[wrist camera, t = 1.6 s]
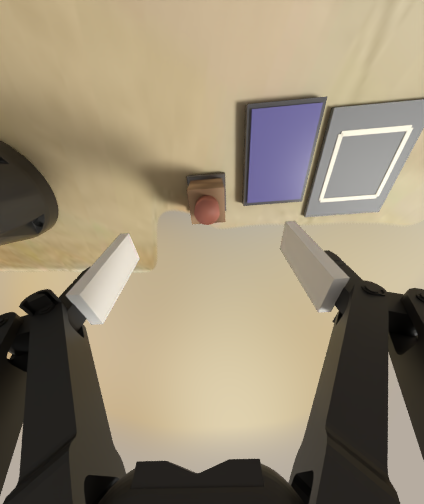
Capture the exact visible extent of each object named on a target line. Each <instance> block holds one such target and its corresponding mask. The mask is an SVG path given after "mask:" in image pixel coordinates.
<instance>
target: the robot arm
mask: <svg viewBox="0 0 424 504" xmlns="http://www.w3.org/2000/svg"><path fill="white" fill-rule="evenodd" d="M57 218H58V205H57V201H56V198H55V195H54V193H53V191H52V189H51V187H50V186H49V184H48V183H47V181H46V180H45V178H44V177H43V176H42V175H41V173H40V172H39V171H38V170H37V169H36V168H35V167H34V166H33V165H32V164H31V163H30V162H29V161H28V160H27V159H26V158H25V157H24V156H22V155H21V154H20V153H19V152H17V151H16V150H14V149H13V148H12V147H10V146H9V145H7V144H5V143H4V142H2V141H0V245H3V244H8V243H13V242H17V241H22V240H26V239H31V238H34V237H36V236H39V235H41V234H42V233H44V232H46V231H47V230H49V229H50V228H52V227H53V226H54V224H55V223H56V221H57ZM280 250H281V252H282V253H283V255H284V257H285V258H286V260H287V262H288V263H289V265H290V267H291V268H292V270H293V272H294V273H295V275H296V277H297V278H298V280H299V282H300V283H301V285H302V287H303V288H304V290H305V291H306V293H307V295H308V296H309V298H310V300H311V301H312V303H313V305H314V306H315V308H316V310H317V311H318V312H331V310H332V309H333V307H334V306H336V307H337V309H338V310H339V312H338V313H337V315H336V317H335V318H334V320H333V322H334V327H333V331H332V334H331V338H330V342H329V346H328V350H327V353H326V357H325V360H324V364H323V368H322V372H321V376H320V379H319V383H318V387H317V391H316V394H315V398H314V401H313V405H312V409H311V413H310V416H309V420H308V424H307V428H306V432H305V435H304V439H303V442H302V444H301V446H300V449H299V451H298V453H297V456H296V459H295V462H294V465H293V469H292V472H291V476H290V480H289V483H288V482H287V481H286V480H285V479H284V478H283V477H282V476H280V475H279V474H278V473H277V472H275V471H274V470H272V469H271V468H269V467H267V466H265V465H263V464H261V463H260V459H232V460H227V461H225V462H223V463H220V464H218V465H216V466H214V467H212V468H210V469H207V470H205V471H203V472H201V473H195V472H192V471H190V470H188V469H185V468H183V467H181V466H178V465H176V464H173V463H170V462H168V461H145V462H137V463H136V467H135V469H133V470H132V471H130V472H129V473H127V474H126V472H125V469H124V465H123V462H122V460H121V457H120V456H119V454H118V452H117V451H116V449H115V447H114V444H113V441H112V437H111V432H110V428H109V424H108V420H107V416H106V411H105V407H104V403H103V399H102V395H101V391H100V387H99V382H98V378H97V374H96V369H95V365H94V361H93V357H92V353H91V349H90V344H89V340H88V336H87V332H86V328H85V326H84V325H83V323H84V322H85V320H86V319H87V320H88V321H89V322H90V324H91V325H92V324H103V323H104V321H105V319H106V318H107V316H108V314H109V313H110V311H111V309H112V307H113V305H114V304H115V302H116V300H117V298H118V296H119V295H120V293H121V291H122V289H123V287H124V286H125V284H126V282H127V280H128V279H129V277H130V275H131V273H132V271H133V270H134V268H135V266H136V264H137V262H138V261H139V259H140V258H139V256H138V254H137V251H136V249H135V246H134V244H133V242H132V239H131V237H130V234H129V233H124V234H120V235H119V236H118V237H117V238H116V239H115V240H114V241H113V242H112V244H111V245H110V246H109V247H108V248H107V249H106V250H105V251H104V253H103V254H102V255H101V256H100V257H99V258H98V259H97V260H96V262H95V263H94V264H93V265H92V266H91V267H89V268H87V269H86V270H84V271H83V272H82V273H81V274H80V275H79V276H78V277H77V279H75V280H74V281H73V283H72V284H71V285H70V286H69V287H68V288H67V289H66V290H65V291H64V292H63V293H62V295H61V296H60V297H59V298H58V297H57V296H56V295H55V294H54V293H53V292H52V291H51V290H48V289H46V290H41V291H38V292H36V293H34V294H32V295H30V296H28V297H27V298H26V299H24V300H23V301H22V302H21V304H20V306H19V307H20V308H21V309H23V310H24V311H25V312H26V313H27V314H29V315H26V316H22V317H20V316H18V315H17V314H16V313H14V312H9V313H5V314H3V315H0V494H1V491H2V488H3V485H4V481H5V478H6V475H7V472H8V468H9V465H10V462H11V459H12V456H13V453H14V449H15V446H16V443H17V440H18V436H19V433H20V430H21V427H22V424H23V435H22V449H21V463H20V477H19V481H18V483H17V486H16V488H15V489H14V490H13V491H12V492H11V493H10V494H9V495H8V496H7V497H6V499H5V501H4V503H3V504H400V502H399V498H398V495H397V492H396V490H395V489H394V487H393V485H392V484H391V482H390V480H389V477H388V469H387V453H388V445H387V444H388V443H387V442H388V441H387V440H388V352H389V355H390V358H391V361H392V364H393V367H394V370H395V373H396V376H397V379H398V382H399V386H400V389H401V392H402V395H403V398H404V401H405V404H406V407H407V410H408V413H409V416H410V420H411V423H412V426H413V429H414V432H415V435H416V438H417V441H418V444H419V447H420V450H421V454H422V457H423V459H424V290H423V289H417V288H412V289H409V290H408V291H407V292H406V293H405V294H404V295H403V294H397V293H391V292H386V290H385V289H384V288H382V287H381V286H379V285H377V284H375V283H373V282H369V281H363V280H362V279H361V278H360V277H359V276H358V275H357V274H356V273H355V272H354V271H353V270H352V269H351V268H350V267H348V266H347V265H346V264H345V263H344V262H343V261H342V260H341V259H340V258H339V257H338V256H337V255H335V254H334V253H332V252H330V251H323V250H322V249H321V248H320V247H319V246H318V245H317V244H316V242H315V241H313V239H312V238H311V237H310V236H309V235H308V234H307V233H306V232H305V231H304V230H303V229H302V228H301V227H300V226H299V225H298V224H297V223H296V222H295V221H286V222H285V225H284V231H283V236H282V241H281V246H280ZM8 352H10V353H12V356H11V358H10V359H7V353H8Z"/></svg>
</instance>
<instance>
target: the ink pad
mask: <svg viewBox="0 0 424 504" xmlns="http://www.w3.org/2000/svg"><path fill="white" fill-rule="evenodd" d="M326 100H327V97H318V98H307V99H297V100H286V101H276V102H265V103H255V104H247V105H246V109H245V139H244V170H243V200H242V203H243V206H248V205H261V204H274V203H287V202H301V201H302V200H303V195H304V191H305V187H306V183H307V179H308V175H309V171H310V166H311V162H312V158H313V154H314V150H315V146H316V142H317V138H318V133H319V129H320V125H321V121H322V117H323V113H324V109H325V105H326Z"/></svg>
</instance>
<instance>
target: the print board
mask: <svg viewBox="0 0 424 504" xmlns="http://www.w3.org/2000/svg"><path fill="white" fill-rule="evenodd" d="M423 128H424V99H422V100H411V101H400V102H389V103H379V104H368V105H357V106H346V107H336V108H332V109H331V113H330V116H329V120H328V124H327V128H326V132H325V136H324V139H323V143H322V147H321V151H320V155H319V159H318V162H317V166H316V170H315V174H314V178H313V182H312V185H311V189H310V193H309V197H308V201H307V205H306V208H305V212H304V217H314V216H328V215H342V214H356V213H369V212H379V211H380V209H381V207H382V205H383V203H384V201H385V199H386V198H387V196H388V194H389V192H390V190H391V188H392V186H393V184H394V183H395V181H396V179H397V177H398V175H399V173H400V171H401V169H402V168H403V166H404V164H405V162H406V160H407V158H408V156H409V154H410V152H411V151H412V149H413V147H414V145H415V143H416V141H417V139H418V137H419V136H420V134H421V132H422V130H423Z"/></svg>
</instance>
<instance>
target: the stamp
mask: <svg viewBox="0 0 424 504" xmlns="http://www.w3.org/2000/svg"><path fill="white" fill-rule="evenodd" d="M187 183H188V189H187V195H188V201H189V208H190V214H191V220H192V224H201V223H202V224H206V225H209V224H213V223H217V222H225V211H226V191H225V173H215V174H203V175H190V176H187Z"/></svg>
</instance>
